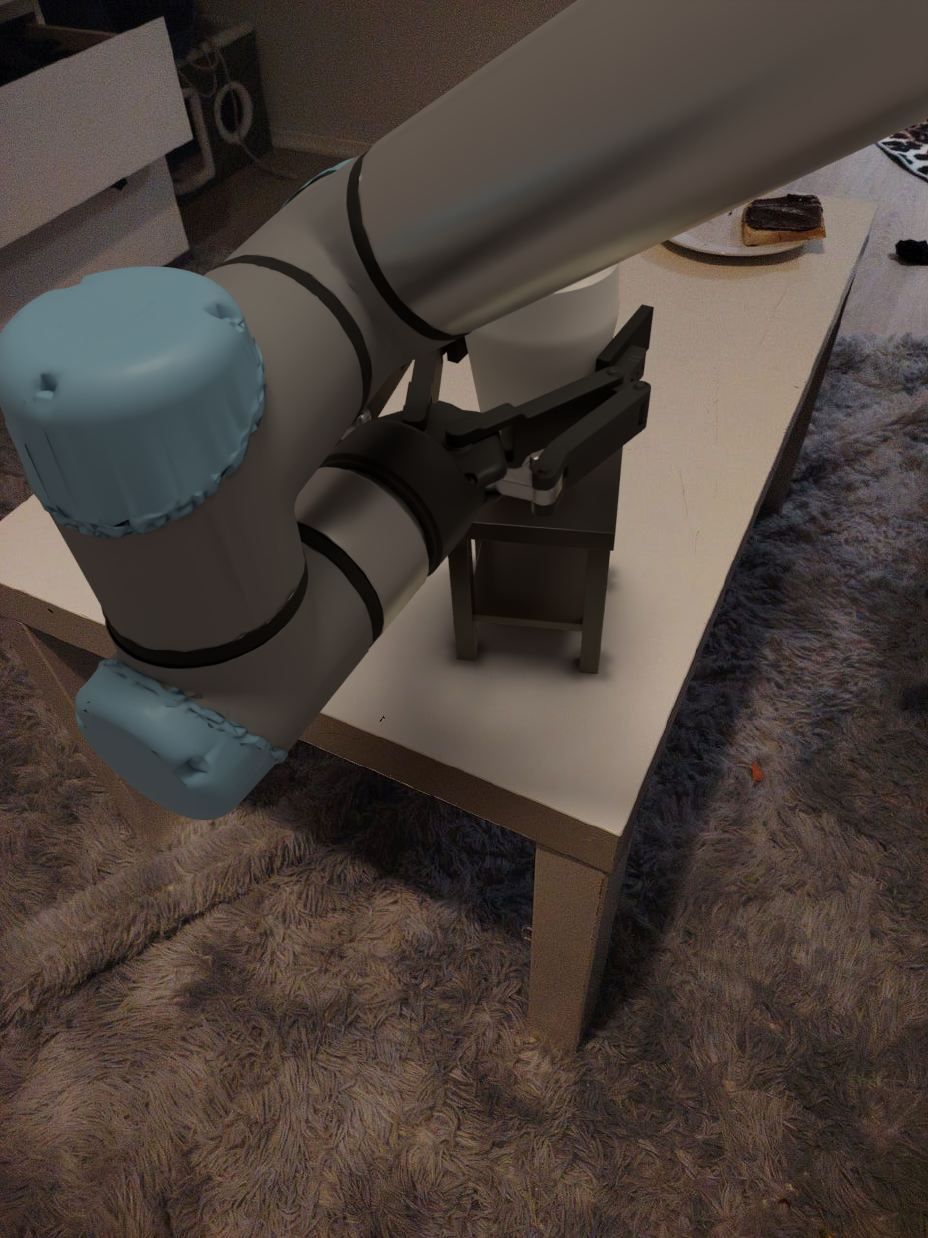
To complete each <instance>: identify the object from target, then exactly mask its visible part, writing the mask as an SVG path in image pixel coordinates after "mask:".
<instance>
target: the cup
mask: <svg viewBox="0 0 928 1238" xmlns="http://www.w3.org/2000/svg"><path fill="white" fill-rule="evenodd" d="M620 275H621V262H619V263H617V264H615V265H613V266H611V267H609V268H607V269H604V270H602V271H600V272H598V273H596V274H594V275H592V276H589V277H587V278H585V279H583V280H581V281H579V282H577V283H575V284H572V285H570V286H568V287H566V288H564V289H562V290H560V291H557V292H555V293H553V294H551V295H549V296H547V297H545V298H542V299H540V300H538V301H536V302H534V303H532V304H530V305H527V306H525V307H523V308H521V309H519V310H517V311H515V312H512V313H510V314H508V315H506V316H504V317H502V318H500V319H497V320H495V321H493V322H491V323H489V324H487V325H485V326H482V327H480V328H478V329H476V330H474V331H472V332H471V333H470V334H468V335H466V336H465V340H466V345H467V350H468V354H467V356H468V360H469V364H470V369H471V374H472V379H473V385H474V389H475V394H476V399H477V403H478V408H479V412H481V413H483V412H486V411H488V410H490V409H493V408H495V407H497V406H500V405H502V404H504V403H510V404H511V405H512V406H514V407H517V406H519V405H521V404H523V403H526V402H528V401H530V400H533V399H535V398H537V397H540V396H542V395H544V394H547V393H549V392H551V391H554V390H556V389H558V388H560V387H563V386H565V385H567V384H570V383H572V382H574V381H577V380H579V379H581V378H584V377H586V376H588V375H591V374H593V373H595V369H596V358H597V357H598V356H599V355H600V353H601V352H602V351H603V350H604V349H605V348H606V346H607V345H608V344H609V343H610V342H611V340H612V339H613V338H614V337H615V332H616V326H617V322H618V318H619V313H620V308H621V307H620V306H621V305H620V304H621V300H620V299H621V298H620V295H621V294H620V277H621V276H620ZM500 436H501V430H500ZM543 450H544V449H542V450H540V451H538V453H540V454H541V453H542V452H543ZM529 461H530V455H529V456H528V457H527V458H526V460H525V462H524V464H525V463H527V462H529ZM524 464H523V465H524ZM523 465H522V466H523Z"/></svg>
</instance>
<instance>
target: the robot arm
mask: <svg viewBox="0 0 928 1238" xmlns="http://www.w3.org/2000/svg"><path fill="white" fill-rule="evenodd" d="M926 120H928V0H576V1H574V2H573V3H571V4H570V5H569V6H567V7H566V8H564V9H562V10H561V11H560V12H558V13H557V14H555V15H554V16H553V17H551V18H550V19H549V20H547V21H546V22H544V23H543V24H541V25H540V26H539V27H537V28H536V29H534V30H533V31H531V32H530V33H528V34H527V35H525V36H524V37H523V38H522V39H520V40H519V41H517V42H515V44H513V45H512V46H510V47H509V48H507V49H506V50H504V51H503V52H502V53H500V54H499V55H497V56H496V57H494V58H492V59H491V61H489V62H487V63H486V64H485V65H483V66H482V67H480V68H479V69H478V70H476V71H475V72H474V73H473V72H472V74H470V75H469V76H467V77H466V78H464V79H463V80H462V81H461V82H459V83H457V85H455V86H454V87H452V88H451V89H449V90H448V91H446V92H444V94H442V95H441V96H439V97H438V98H436V99H435V100H434V101H432V102H431V103H429V104H428V105H426V106H425V107H423V108H422V109H421V110H419V111H418V112H417V113H414V115H412V116H411V117H410V118H408V119H407V120H405V121H404V122H403V123H401V124H399V125H398V126H397V127H396V128H393V129H392V130H391V131H390V132H388V133H387V134H385V135H384V136H383V137H381V138H380V139H378V140H377V141H376V142H375V143H374V144H373V145H372V146H371V147H370V149H368V150H366V151H364V152H363V153H361V154H359V155H357V156H355V157H352V158H349V159H347V160H343V161H342V162H340V163H338V164H336V165H335V166H333V167H329V168H327V169H325V170H323V171H322V172H320V173H319V174H317V175H316V176H313V178H312V179H310V180H309V181H307V182H306V183H305V184H304V185H303V186H302V187H301V188H299V189H298V190H296V191H295V192H294V193H292V195H291V196H289V197H288V198H287V200H285V202H283V204H282V206H281V208H280V210H279V211H278V212H277V213H275V214H274V215H272V217H271V218H270V219H268V220H267V221H266V222H265V223H264V224H263V225H262V226H260V228H258V229H257V230H256V231H255V232H254V233H252V235H251V236H250V237H248V238H247V239H246V240H245V241H244V242H243V243H242V244H241V245H240V246H239V247H237V249H235V251H233V252H232V253H231V254H229V256H228V257H227V258H226V259H224V260H223V261H222V262H221V263H219V264H218V265H215V266H214V267H212V269H211V270H209V271H207V272H206V273H205V274H203V275H201V274H199V273H196V272H194V271H191V270H185V269H181V268H177V267H168V266H150V265H149V266H146V265H143V266H142V265H141V266H129V267H120V268H115V269H109V270H105V271H100V272H96V273H91V274H88V275H85V276H84V277H82V279H81V281H80V282H78V283H77V284H75V285H72V286H70V287H65V288H55V289H52V290H49V291H45V292H44V293H42V294H40V295H38V296H37V297H36V298H34V299H33V300H30V301H29V302H28V303H26V305H24V306H23V307H22V308H21V309H20V310H18V311H17V312H15V314H14V315H13V317H11V318H10V320H9V321H8V322H6V324H5V326H4V327H3V328H2V330H1V331H0V409H1V412H2V415H3V417H4V419H5V420H4V421H5V422H4V425H5V427H6V430H7V431H8V434H9V436H10V438H11V440H12V443H13V445H14V447H15V450H16V453H17V455H18V457H19V460H20V462H21V464H22V467H23V471H24V474H25V477H26V480H27V482H28V485H29V487H30V489H31V492H32V495H34V497H35V498H36V499H37V500H38V501H39V503H40V505H41V507H42V508H43V511H45V512H47V513H48V514H49V516H50V518H51V519H52V521H53V523H54V524H55V526H56V528H57V530H58V532H59V534H60V535H61V537H62V539H63V540H64V543H65V544H66V546H67V547H68V550H69V551H70V554H71V555H72V556H73V559H74V560H75V562H76V564H77V565H78V567H79V570H80V571H81V572H82V574H83V577H84V578H85V581H86V582H87V584H88V586H89V587H90V589H91V591H92V593H93V594H94V596H95V598H96V600H97V601H98V603H99V605H100V609H101V612H102V615H103V618H104V625H105V629H106V631H107V634H108V636H109V638H110V640H111V642H112V643H113V645H114V647H115V649H116V652H114V654H111V656H109V657H108V658H107V657H105V659H103V660H101V661H99V662H98V666H97V668H96V670H95V671H94V672H93V674H92V675H91V677H89V679H88V680H87V681H86V682H85V683H84V684H83V685H82V686H81V688H80V689H79V690H78V692H76V695H75V698H74V709H75V710H74V711H75V712H74V717H75V718H74V719H75V723H76V726H77V728H78V730H79V732H80V734H81V736H82V737H83V738H84V740H85V742H86V743H87V744H88V746H90V748H91V749H92V750H93V752H95V753H96V755H97V756H98V757H99V758H100V759H101V760H102V761H103V762H104V763H105V764H106V765H107V766H108V767H109V768H110V769H111V770H112V771H113V772H114V773H115V774H117V776H119V777H120V778H121V779H123V781H125V782H126V783H127V784H129V786H131V787H132V788H133V789H134V790H136V791H138V792H139V793H140V794H142V795H143V796H144V797H146V798H148V799H149V800H151V801H152V802H154V803H156V804H157V805H159V806H161V807H162V808H165V809H166V810H168V811H170V812H171V813H174V814H176V815H178V816H181V817H184V818H188V819H190V820H195V821H215V820H218V819H221V818H224V817H226V816H227V815H229V814H231V813H232V812H233V811H234V810H236V808H237V807H238V806H239V805H240V804H241V803H242V802H243V800H245V798H247V797H248V795H249V794H250V792H252V790H253V789H254V788H255V787H256V786H257V785H258V784H259V783H260V782H261V780H262V779H264V777H265V776H266V775H267V774H268V773H269V772H270V771H271V770H272V769H273V767H274V766H275V765H278V764H281V763H283V762H284V761H286V759H287V757H288V755H289V752H290V751H291V749H292V748H293V747H294V746H295V745H296V743H297V742H298V741H299V740H300V738H301V737H302V735H304V733H305V732H306V730H307V729H308V728H309V727H310V725H311V724H312V723H313V721H314V720H315V719H316V718H317V717H318V715H319V714H320V713H321V712H322V710H323V709H324V708H325V707H326V705H328V703H329V702H330V701H331V699H332V698H333V697H334V695H335V694H336V693H337V692H338V690H339V689H340V688H341V686H343V684H344V683H345V681H346V680H347V679H348V678H349V676H351V674H352V673H353V672H354V671H355V669H356V668H357V667H358V665H360V663H361V662H362V661H363V659H364V658H365V656H366V655H367V654H368V653H369V652H370V649H371V648H372V647H373V645H374V644H375V643H376V642H377V641H378V639H379V638H380V637H382V634H383V633H384V632H385V631H386V630H387V628H389V626H390V625H391V624H392V623H393V621H394V620H395V619H396V618H397V617H398V615H399V614H400V613H401V612H402V611H403V610H404V608H405V607H406V606H407V605H408V603H409V602H410V601H411V600H412V599H413V597H414V596H415V595H416V594H417V592H418V591H419V590H420V589H421V588H422V587H423V585H424V584H425V583H426V581H427V578H429V577H430V576H432V575H433V574H434V573H435V572H436V571H437V570H438V569H439V567H440V566H441V565H442V563H444V561H445V560H446V559H447V558H448V555H449V554H450V552H451V551H452V550H453V549H454V547H455V546H456V545H457V544H458V543H459V541H460V540H461V539H462V538H463V537H464V535H465V534H466V533H467V531H468V530H469V528H470V526H471V524H472V523H473V521H474V519H475V517H476V515H477V514H478V512H479V511H480V510H481V509H482V508H483V507H485V506H486V505H488V504H490V503H493V502H495V501H497V500H499V499H500V498H501V497H502V496H503V495H508V496H512V497H516V498H521V499H525V500H529V501H532V507H531V510H532V512H533V513H534V514H535V515H536V516H539V517H548V516H551V515H553V514H554V512H555V511H556V509H557V507H558V505H559V503H560V501H561V500H562V498H563V496H564V494H565V492H566V491H567V490H568V489H569V488H571V487H572V486H573V485H575V484H576V483H577V482H578V481H580V480H581V479H582V478H583V477H585V476H586V475H587V474H588V473H590V472H591V471H592V470H593V469H595V468H596V467H597V466H598V465H600V464H601V463H602V462H604V461H605V460H606V459H607V458H609V457H610V456H611V455H612V454H614V453H615V452H616V451H617V450H619V449H620V448H621V447H622V446H623V447H624V446H625V445H626V444H628V443H629V442H631V440H633V439H634V438H635V437H637V436H638V435H639V434H641V432H642V431H644V430H645V429H646V428H647V426H648V417H649V410H650V403H651V402H650V401H651V393H652V384H650V383H649V382H648V381H645V380H641V379H642V378H643V377H644V376H645V368H646V367H645V366H646V359H647V353H648V351H649V350H650V343H651V337H652V329H653V328H652V326H653V319H654V311H655V306H651V305H647V304H643V303H642V304H641V305H640V306H639V307H638V308H637V310H636V311H635V312H634V313H633V314H632V315H631V317H630V318H628V320H627V322H625V324H624V325H623V326H622V327H621V328H620V329H619V331H618V332H617V333H616V335H614V336H613V339H612V340H611V342H610V343H609V344H608V345H607V346H606V348H605V349H604V350H603V351H602V352H601V353H600V355H599V356H598V357H597V358H596V369H595V373H593V374H591V375H588V376H586V377H584V378H581V379H579V380H577V381H574V382H572V383H570V384H567V385H565V386H563V387H560V388H558V389H556V390H554V391H551V392H549V393H547V394H544V395H542V396H540V397H537V398H535V399H533V400H530V401H528V402H526V403H523V404H521V405H519V406H517V407H514V406H512V405H511V404H510V403H504V404H502V405H500V406H497V407H495V408H493V409H490V410H488V411H486V412H483V413H481V412H480V411H477V410H469V409H463V408H461V407H458V406H457V405H454V404H453V403H450V402H448V401H443V400H440V392H441V391H440V390H441V384H442V377H443V369H444V356H445V355H446V361H447V362H450V363H453V364H459V363H460V362H461V361H462V360H463V359H464V358H466V356H468V350H467V345H466V340H465V336H466V335H468V334H470V333H471V332H472V331H474V330H476V329H478V328H480V327H482V326H485V325H487V324H489V323H491V322H493V321H495V320H497V319H500V318H502V317H504V316H506V315H508V314H510V313H512V312H515V311H517V310H519V309H521V308H523V307H525V306H527V305H530V304H532V303H534V302H536V301H538V300H540V299H542V298H545V297H547V296H549V295H551V294H553V293H555V292H557V291H560V290H562V289H564V288H566V287H568V286H570V285H572V284H575V283H577V282H579V281H581V280H583V279H585V278H587V277H589V276H592V275H594V274H596V273H598V272H600V271H602V270H604V269H607V268H609V267H611V266H613V265H615V264H617V263H619V262H620V263H622V262H624V261H626V260H628V259H630V258H632V257H635V256H636V255H638V254H641V253H643V252H645V251H647V250H650V249H652V248H654V247H656V246H658V245H660V244H663V243H664V242H667V241H668V240H671V239H673V238H675V237H678V236H679V235H682V234H684V233H686V232H688V231H690V230H692V229H695V228H696V227H699V226H700V225H703V224H705V223H707V222H709V221H711V220H713V219H716V218H719V217H721V216H723V215H724V214H726V213H728V212H731V211H733V210H735V209H738V208H739V207H741V206H742V207H743V206H744V205H746V204H748V203H750V202H752V201H754V200H757V199H759V198H760V197H763V196H765V195H767V194H770V193H772V192H773V191H777V190H778V189H780V188H782V187H784V186H786V185H788V184H791V183H793V182H795V181H797V180H799V179H802V178H803V177H806V176H808V175H810V174H812V173H814V172H816V171H819V170H821V169H823V168H825V167H827V166H829V165H832V164H833V163H836V162H838V161H840V160H842V159H844V158H846V157H849V156H851V155H853V154H855V153H857V152H859V151H861V150H864V149H866V148H868V147H871V146H872V145H875V144H876V143H879V142H881V141H883V140H886V139H887V138H889V137H892V136H893V135H897V134H898V133H900V132H902V131H905V130H906V129H909V128H911V127H913V126H915V125H918V124H919V123H921V122H924V121H926ZM413 361H414V362H413ZM412 363H413V367H412V372H411V373H412V374H411V379H410V381H408V384H407V389H406V396H405V401H404V404H403V406H402V410H398V411H395V412H391V413H388V414H384V415H382V416H380V415H381V413H382V412H383V411H384V408H385V407H386V405H387V404H388V402H389V400H390V399H391V397H392V396H393V394H394V392H395V391H396V389H397V388H398V386H399V384H400V383H401V381H402V380H403V378H404V376H405V374H406V373H407V371H408V369H409V368H410V367H411V365H412ZM500 430H501V436H500ZM542 449H544V450H543V452H542V453H541V454H540V453H538V451H540V450H542ZM529 455H530V461H529V462H527V463H525V464H524V462H525V460H526V458H527V457H528V456H529ZM523 464H524V465H523ZM522 465H523V466H522ZM521 466H522V467H521Z"/></svg>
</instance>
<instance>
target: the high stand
mask: <svg viewBox="0 0 928 1238" xmlns="http://www.w3.org/2000/svg"><path fill="white" fill-rule="evenodd" d="M623 452H624V446H622V447H621V448H620V449H619V450H617V451H616V452H615V453H614V454H612V455H611V456H610V457H609V458H607V459H606V460H605V461H604V462H602V463H601V464H600V465H598V466H597V467H596V468H595V469H593V470H592V471H591V472H590V473H588V474H587V475H586V476H585V477H583V478H582V479H581V480H580V481H578V482H577V483H576V484H575V485H573V486H572V487H571V488H569V489H568V490H567V491H566V492H565V494H564V496H563V498H562V500H561V501H560V503H559V505H558V507H557V509H556V511H555V512H554V514H553V515H551V516H548V517H539V516H536V515H535V514H534V513H533V512H532V510H531V507H532V501H529V500H525V499H521V498H516V497H512V496H508V495H503V496H502V497H501V498H500V499H499V500H497V501H495V502H493V503H490V504H488V505H486V506H485V507H483V508H482V509H481V510H480V511H479V512H478V514H477V515H476V517H475V519H474V521H473V523H472V524H471V526H470V528H469V530H468V531H467V533H466V534H465V535H464V537H463V538H462V539H461V540H460V541H459V543H458V544H457V545H456V546H455V547H454V549H453V550H452V551H451V552H450V554H449V555H448V556H447V562H448V564H447V565H448V575H449V586H450V598H451V608H452V621H453V632H454V643H455V656H456V660H465V661H467V660H468V661H475V660H476V656H477V652H478V647H479V646H478V645H479V644H478V628H477V622H478V623H487V624H496V625H497V624H498V625H508V626H509V625H510V626H520V627H529V628H540V629H551V630H561V631H570V632H571V631H573V632H580V633H581V640H580V641H581V642H580V655H579V667H578V669H579V672H583V673H592V674H598V673H599V671H600V660H601V650H602V639H603V630H604V621H605V620H604V618H605V610H606V601H607V600H606V599H607V590H608V581H609V570H610V558H611V552H613V551H614V550H615V541H616V532H617V519H618V509H619V498H620V497H619V496H620V485H621V473H622V462H623V454H624V453H623ZM521 467H522V466H521ZM472 541H474V553H475V554H474V555H475V567H474V561H473V560H474V559H473V542H472Z"/></svg>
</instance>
